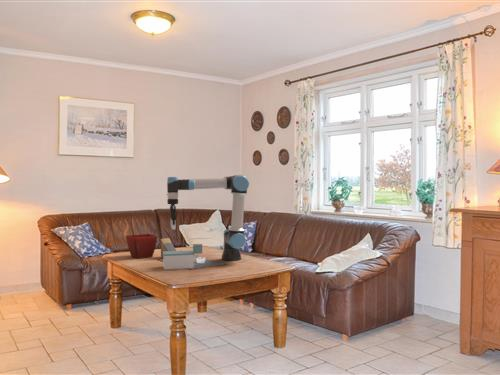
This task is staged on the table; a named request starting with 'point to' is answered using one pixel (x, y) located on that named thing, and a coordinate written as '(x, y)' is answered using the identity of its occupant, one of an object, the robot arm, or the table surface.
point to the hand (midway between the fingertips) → (173, 228)
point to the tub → (178, 262)
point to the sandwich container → (166, 246)
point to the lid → (196, 249)
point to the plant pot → (141, 245)
